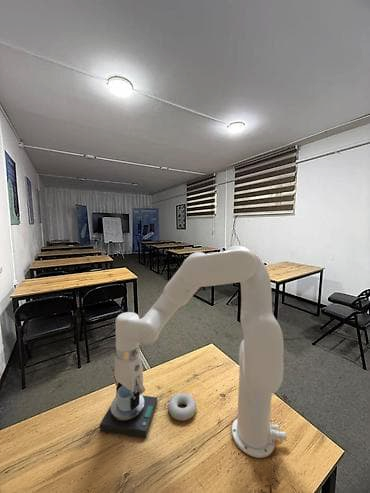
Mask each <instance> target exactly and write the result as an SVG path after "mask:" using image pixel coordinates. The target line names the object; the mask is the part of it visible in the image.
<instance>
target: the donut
mask: <svg viewBox="0 0 370 493" xmlns="http://www.w3.org/2000/svg"><path fill="white" fill-rule="evenodd" d="M179 405H185V407H179ZM167 409H168V413H169V415H170V416H171V417H172V418H173V419H175V420H177V421H180V422H181V421H189V420H190V419H191V418H193V416H194V415H195V414H196V412H197V402H196V400H195V398H194V397H193V396H192V395H190V394H189V393H186V392H179V393H176V394H174V395H173V396H172V397H171V398H170V399H169V401H168V406H167Z"/></svg>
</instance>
